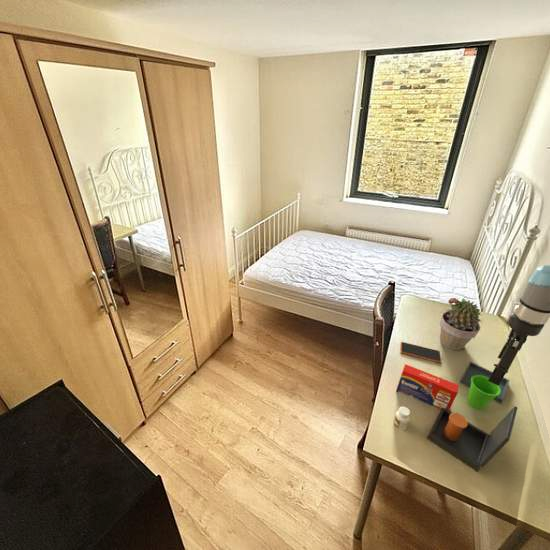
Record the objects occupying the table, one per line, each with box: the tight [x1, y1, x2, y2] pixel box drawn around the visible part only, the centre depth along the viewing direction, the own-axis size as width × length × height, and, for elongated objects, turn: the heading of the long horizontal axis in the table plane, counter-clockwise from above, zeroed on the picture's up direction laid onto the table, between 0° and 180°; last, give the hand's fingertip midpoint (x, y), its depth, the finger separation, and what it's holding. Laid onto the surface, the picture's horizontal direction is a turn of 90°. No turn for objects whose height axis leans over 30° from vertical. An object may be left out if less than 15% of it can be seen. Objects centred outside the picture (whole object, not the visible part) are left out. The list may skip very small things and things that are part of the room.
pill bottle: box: [393, 406, 411, 431], centre depth 100 cm, size 4×4×8 cm
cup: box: [466, 375, 501, 411], centre depth 106 cm, size 9×9×11 cm
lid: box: [480, 405, 518, 468], centre depth 87 cm, size 15×14×1 cm
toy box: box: [395, 363, 459, 411], centre depth 108 cm, size 18×4×12 cm, turn 58°
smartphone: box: [400, 341, 442, 364], centre depth 132 cm, size 8×17×1 cm, turn 69°
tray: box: [459, 361, 510, 404], centre depth 118 cm, size 14×13×2 cm
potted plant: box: [439, 297, 484, 352], centre depth 132 cm, size 18×20×25 cm
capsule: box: [444, 412, 468, 441], centre depth 96 cm, size 5×5×8 cm
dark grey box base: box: [426, 407, 490, 473], centre depth 96 cm, size 15×14×3 cm
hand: (498, 370), depth 93 cm, fingers open, 13 cm apart
